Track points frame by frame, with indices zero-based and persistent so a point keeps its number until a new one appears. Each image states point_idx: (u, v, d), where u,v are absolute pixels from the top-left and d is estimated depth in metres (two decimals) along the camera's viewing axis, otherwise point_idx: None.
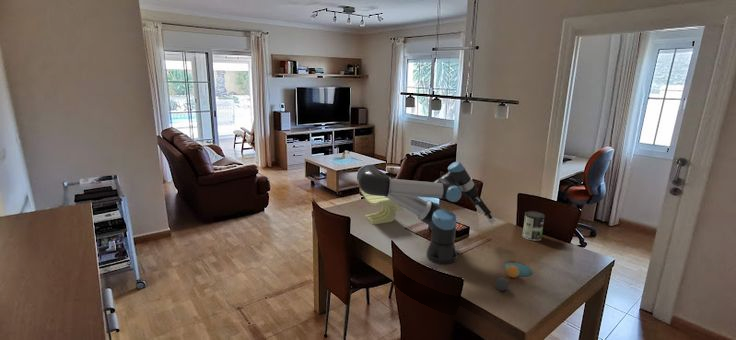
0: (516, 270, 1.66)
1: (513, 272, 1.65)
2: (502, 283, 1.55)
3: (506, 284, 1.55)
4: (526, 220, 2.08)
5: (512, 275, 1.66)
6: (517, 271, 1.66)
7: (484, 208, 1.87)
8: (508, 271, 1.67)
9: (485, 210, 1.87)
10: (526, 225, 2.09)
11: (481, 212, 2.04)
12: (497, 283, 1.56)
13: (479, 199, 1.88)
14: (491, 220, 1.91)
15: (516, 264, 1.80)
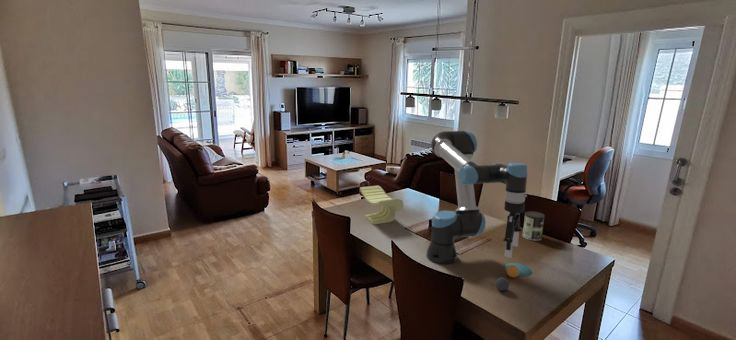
0: (516, 270, 1.66)
1: (513, 272, 1.65)
2: (502, 283, 1.55)
3: (506, 284, 1.55)
4: (526, 220, 2.08)
5: (512, 275, 1.66)
6: (517, 271, 1.66)
7: (508, 232, 1.42)
8: (508, 271, 1.67)
9: (507, 234, 1.42)
10: (526, 225, 2.09)
11: (513, 243, 1.57)
12: (497, 283, 1.56)
13: (511, 219, 1.43)
14: (507, 252, 1.45)
15: (516, 264, 1.80)
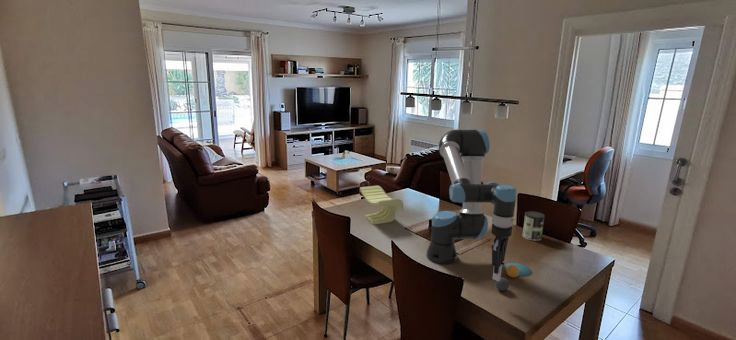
0: (516, 270, 1.66)
1: (513, 272, 1.65)
2: (502, 283, 1.55)
3: (506, 284, 1.55)
4: (526, 220, 2.08)
5: (512, 275, 1.66)
6: (517, 271, 1.66)
7: (494, 259, 1.43)
8: (508, 271, 1.67)
9: (493, 261, 1.43)
10: (526, 225, 2.09)
11: None
12: (497, 283, 1.56)
13: (495, 249, 1.40)
14: (495, 275, 1.47)
15: (516, 264, 1.80)
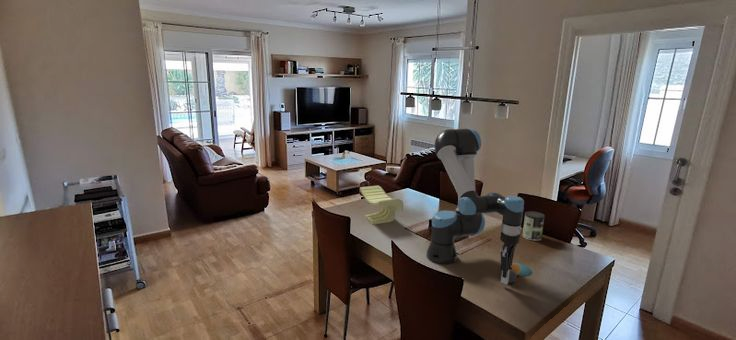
0: (518, 266, 1.68)
1: (516, 266, 1.68)
2: None
3: None
4: (526, 220, 2.08)
5: (514, 269, 1.67)
6: (519, 268, 1.68)
7: (503, 264, 1.54)
8: None
9: (502, 266, 1.55)
10: (526, 225, 2.09)
11: None
12: None
13: (504, 255, 1.51)
14: (503, 279, 1.59)
15: None
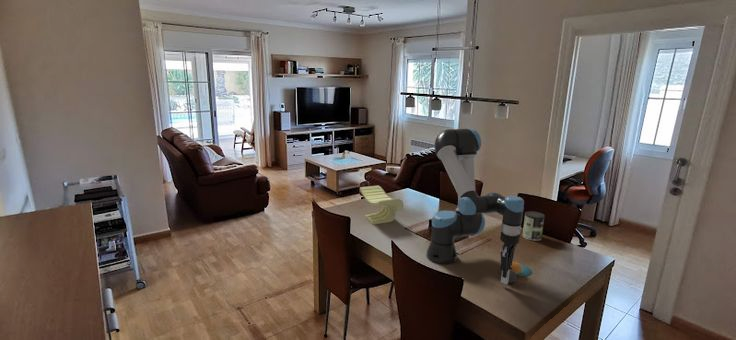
0: (520, 265, 1.71)
1: (518, 263, 1.70)
2: None
3: None
4: (526, 220, 2.08)
5: (516, 265, 1.69)
6: None
7: (503, 264, 1.54)
8: (513, 262, 1.71)
9: (502, 266, 1.55)
10: (526, 225, 2.09)
11: None
12: None
13: (504, 255, 1.51)
14: (503, 279, 1.59)
15: None
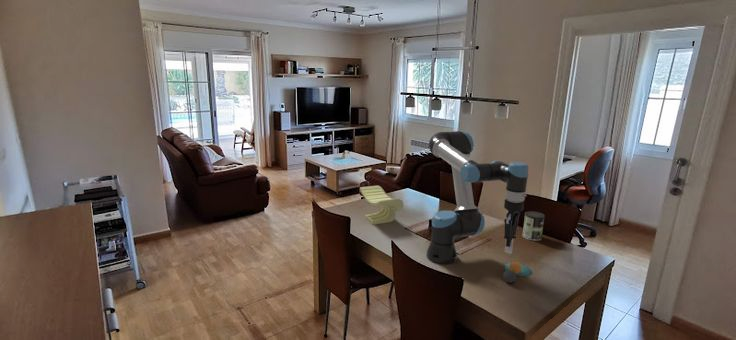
0: (520, 265, 1.71)
1: (518, 263, 1.70)
2: None
3: None
4: (526, 220, 2.08)
5: (516, 265, 1.69)
6: None
7: (506, 232, 1.51)
8: (513, 262, 1.71)
9: (506, 234, 1.51)
10: (526, 225, 2.09)
11: None
12: None
13: (508, 222, 1.48)
14: (507, 248, 1.56)
15: None
